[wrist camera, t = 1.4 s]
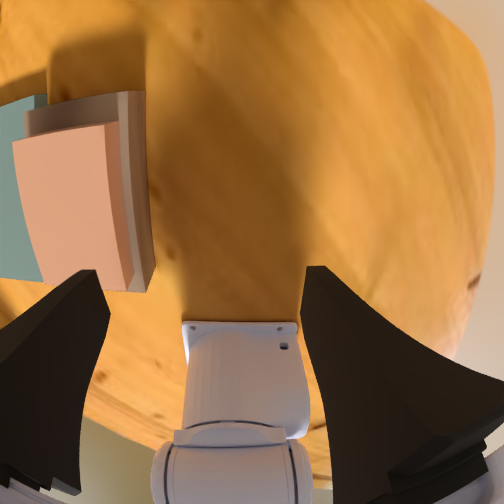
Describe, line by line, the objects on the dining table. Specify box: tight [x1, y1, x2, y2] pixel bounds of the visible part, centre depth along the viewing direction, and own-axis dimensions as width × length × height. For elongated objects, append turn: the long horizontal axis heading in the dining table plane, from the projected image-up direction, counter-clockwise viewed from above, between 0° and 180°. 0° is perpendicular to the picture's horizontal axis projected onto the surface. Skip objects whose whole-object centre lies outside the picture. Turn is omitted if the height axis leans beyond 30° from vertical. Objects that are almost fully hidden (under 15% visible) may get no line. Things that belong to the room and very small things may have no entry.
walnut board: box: [24, 91, 156, 293], centre depth 15 cm, size 7×12×3 cm, turn 176°
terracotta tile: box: [12, 121, 135, 291], centre depth 13 cm, size 6×9×2 cm, turn 176°
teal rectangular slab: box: [0, 93, 47, 282], centre depth 15 cm, size 10×14×2 cm
